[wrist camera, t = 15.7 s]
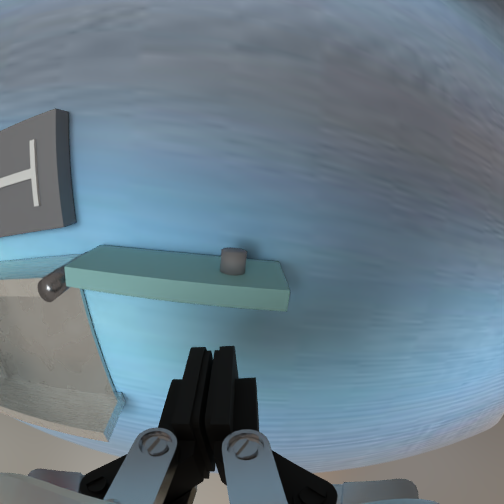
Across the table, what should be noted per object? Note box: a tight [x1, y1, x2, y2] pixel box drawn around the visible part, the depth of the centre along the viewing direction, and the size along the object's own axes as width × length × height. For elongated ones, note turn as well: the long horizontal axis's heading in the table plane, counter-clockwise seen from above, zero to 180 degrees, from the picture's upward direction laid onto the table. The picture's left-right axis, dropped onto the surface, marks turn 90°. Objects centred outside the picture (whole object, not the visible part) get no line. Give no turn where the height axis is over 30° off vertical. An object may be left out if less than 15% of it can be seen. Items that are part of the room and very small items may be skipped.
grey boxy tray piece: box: [0, 252, 125, 442], centre depth 16 cm, size 15×12×5 cm
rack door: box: [64, 245, 290, 312], centre depth 14 cm, size 2×10×4 cm, turn 84°
